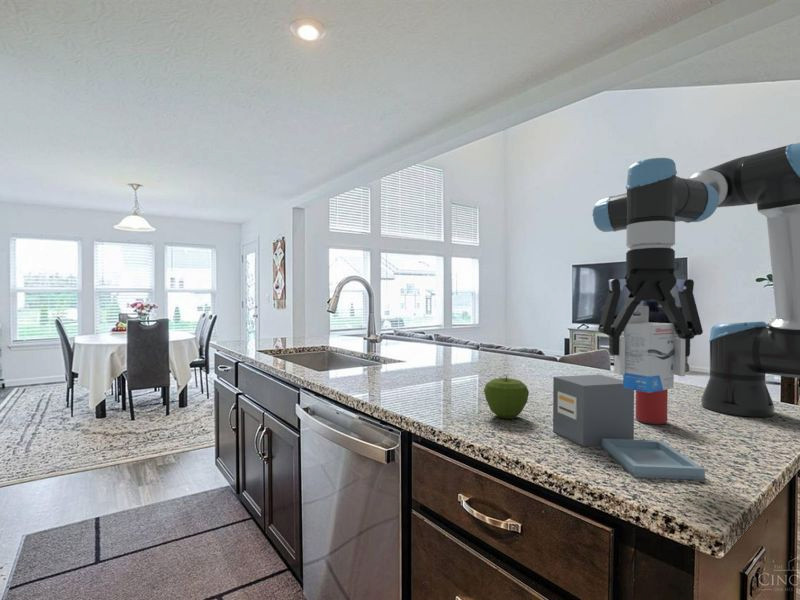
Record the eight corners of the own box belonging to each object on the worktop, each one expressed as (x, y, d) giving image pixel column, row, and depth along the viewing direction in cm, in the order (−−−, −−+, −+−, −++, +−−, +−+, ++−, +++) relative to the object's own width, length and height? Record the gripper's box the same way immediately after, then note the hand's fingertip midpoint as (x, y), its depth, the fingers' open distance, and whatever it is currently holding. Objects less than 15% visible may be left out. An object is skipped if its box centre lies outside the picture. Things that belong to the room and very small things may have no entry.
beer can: (663, 419, 105) (663, 369, 105) (670, 426, 99) (671, 374, 99) (633, 416, 107) (633, 368, 107) (638, 424, 101) (638, 372, 101)
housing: (600, 427, 98) (600, 374, 98) (634, 441, 88) (635, 383, 88) (551, 431, 95) (552, 376, 95) (581, 446, 85) (582, 385, 85)
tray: (660, 449, 84) (660, 440, 84) (704, 480, 70) (704, 468, 70) (601, 447, 85) (601, 438, 85) (633, 477, 71) (633, 466, 71)
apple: (480, 411, 112) (481, 372, 112) (522, 411, 111) (522, 373, 111) (488, 423, 101) (488, 380, 101) (533, 424, 101) (533, 381, 100)
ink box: (651, 393, 73) (651, 306, 73) (621, 388, 77) (622, 306, 77) (675, 388, 77) (676, 306, 77) (646, 383, 82) (647, 305, 82)
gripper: (702, 250, 80) (701, 372, 80) (579, 251, 82) (578, 369, 82) (729, 245, 72) (728, 379, 72) (593, 246, 74) (592, 376, 74)
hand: (648, 374), depth 77 cm, fingers closed on ink box, 9 cm apart
